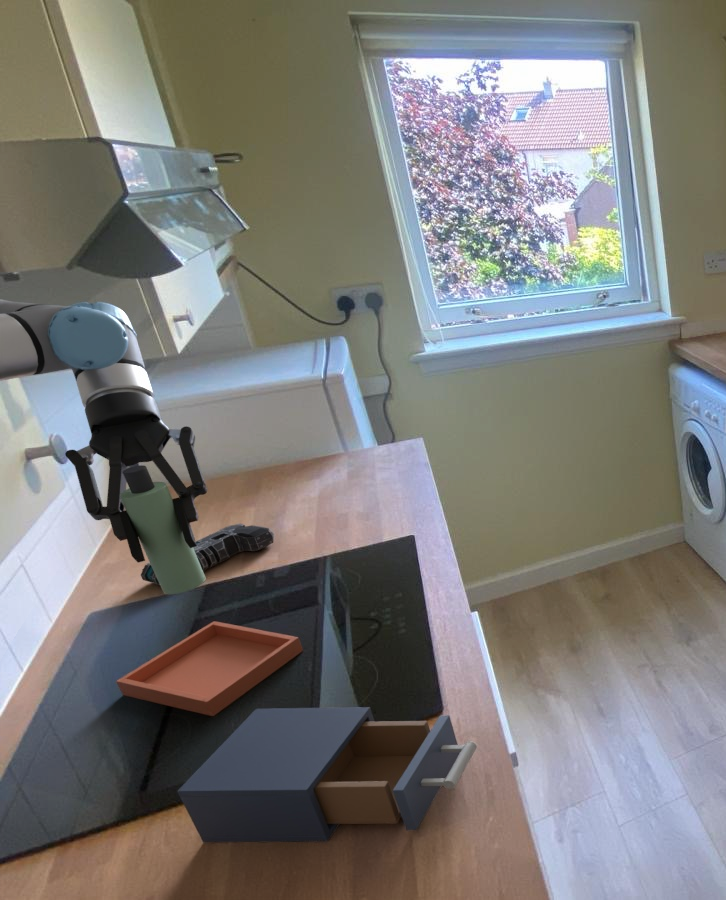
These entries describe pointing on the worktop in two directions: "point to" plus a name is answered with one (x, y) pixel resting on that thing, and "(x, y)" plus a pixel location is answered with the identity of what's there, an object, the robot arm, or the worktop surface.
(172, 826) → the worktop surface
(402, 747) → the drawer
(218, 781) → the cabinet
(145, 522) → the green bottle
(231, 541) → the sci-fi power cell
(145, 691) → the tray
